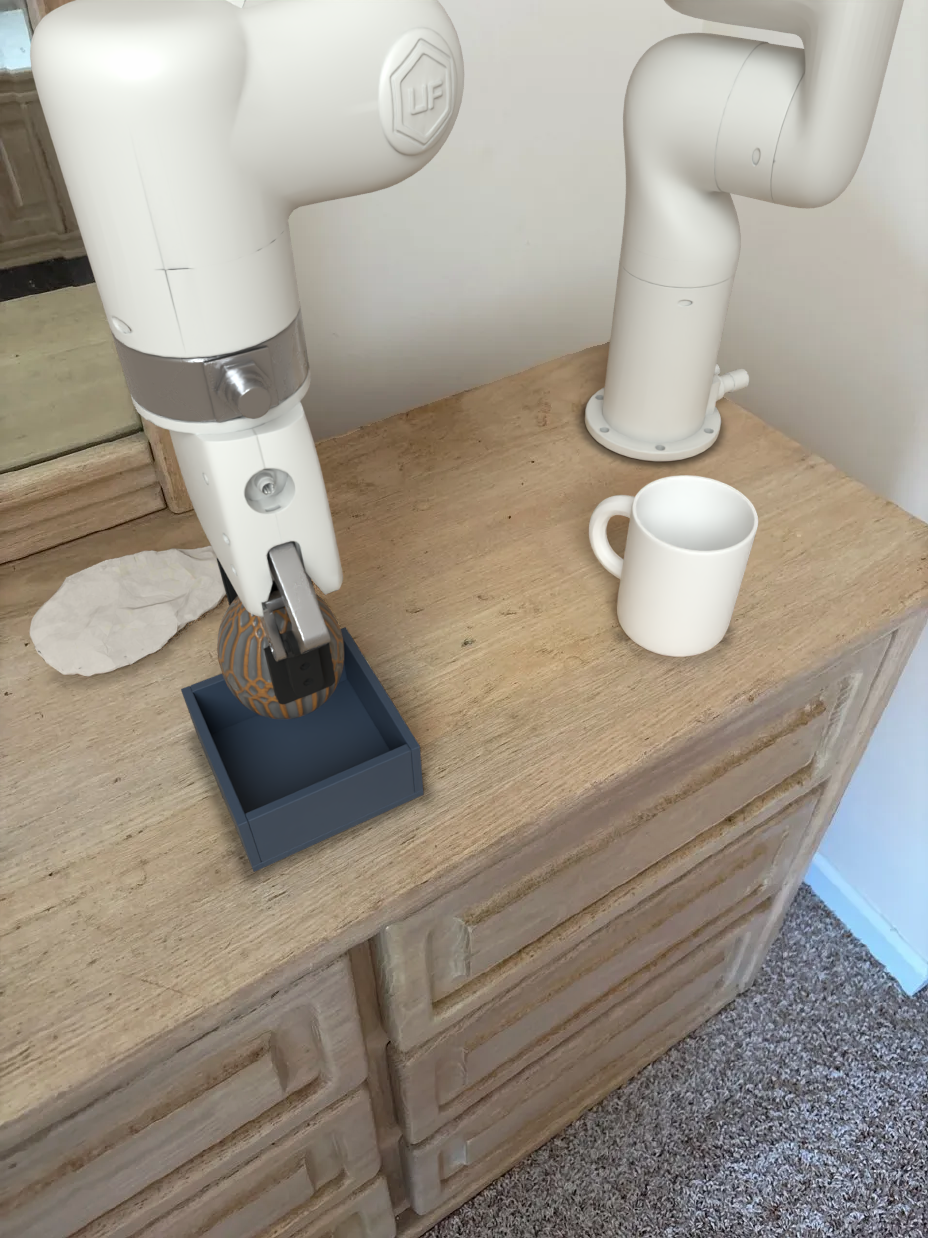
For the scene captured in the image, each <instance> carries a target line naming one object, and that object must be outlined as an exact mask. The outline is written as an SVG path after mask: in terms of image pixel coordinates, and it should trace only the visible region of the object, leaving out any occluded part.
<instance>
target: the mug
mask: <svg viewBox="0 0 928 1238" xmlns="http://www.w3.org/2000/svg"><path fill="white" fill-rule="evenodd" d="M614 516H622V517H626V518H628V519H629V523H628V529H627V535H626V536H627V537H626V541H625V547H624V556H623V558H622V557H621V556H619V555H618V554H617V553H616V552H615V551H614V549H613V548H612V546H611V545H610V543H609V540H608V535H607V527H608V523H609V521H610V519H611V518H612V517H614ZM758 527H759V517H758V513H757V510H756V508H755V506H754V504H753V503H752V501H751V499H749V498H748V497H747V496H746V495H745V494H744V493H742V492H741V491H740V490H738V489H737V488H735V487H733V486H731V485H729V484H727V483H725V482H722V481H720V480H717V479H713V478H710V477H706V476H700V475H690V474H685V475H684V474H683V475H670V476H666V477H665V476H664V477H662V478H657V479H656V480H653V481H651V482H648V483H647V484H646V485H645V486H643V487H642V488H641V489H640V490H638V492H637V493H636V495H635V496H634V495H628V494H616V495H611V496H608V497H606V498H605V499H603V500H601V501H600V502H599V503H598V504H597V505H596V506H595V508H594V510H593V511H592V512H591V515H590V518H589V522H588V538H589V544H590V547H591V549H592V552H593V554H594V556H595V558H596V559H597V561H598V562H599V563H600V565H601V566H602V567H603V568H604V569H605V570H606V571H607V572H609V573H610V574H611V575H612V576H613V577H615V578H617V579H618V580H619V586H618V592H617V599H616V613H617V614H616V615H617V620H618V622H619V625H620V627H621V628H622V630H623V632H624V633H625V635H626V636H627V637H628V638H629V639H630V640H631V641H633V642H634V643H635V644H636V645H638V646H640V647H641V648H643V649H645V650H647V651H649V652H652V653H654V654H657V655H660V656H666V657H671V658H672V657H673V658H685V657H686V658H687V657H693V656H698V655H700V654H704V653H706V652H708V651H710V650H711V649H713V648H715V647H716V646H717V645H718V644H719V643H720V642H721V641H722V640H723V638H724V637H725V635H726V633H727V632H728V630H729V627H730V624H731V621H732V617H733V615H734V610H735V607H736V604H737V601H738V597H739V593H740V590H741V586H742V582H743V579H744V576H745V572H746V570H747V565H748V562H749V558H750V554H751V551H752V549H753V545H754V541H755V537H756V534H757V531H758Z"/></svg>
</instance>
